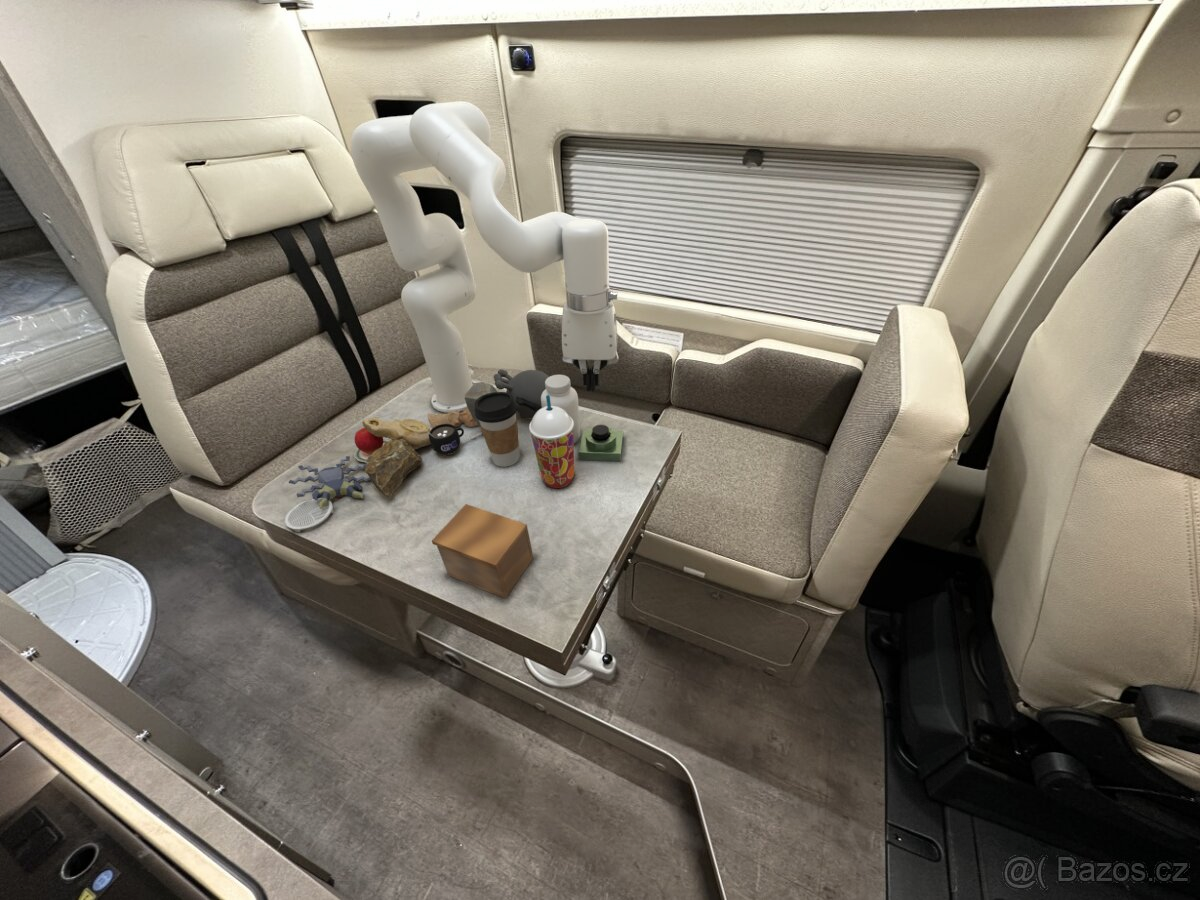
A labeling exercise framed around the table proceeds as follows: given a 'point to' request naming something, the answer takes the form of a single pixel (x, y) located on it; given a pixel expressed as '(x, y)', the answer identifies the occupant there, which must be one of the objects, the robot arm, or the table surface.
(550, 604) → the table surface
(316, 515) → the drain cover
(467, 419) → the figurine
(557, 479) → the smoothie
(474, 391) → the stone
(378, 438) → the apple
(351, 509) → the table surface
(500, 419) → the coffee cup
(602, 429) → the button
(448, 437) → the mug
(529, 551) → the box
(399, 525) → the table surface
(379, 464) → the rock
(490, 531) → the lid
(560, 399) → the pill bottle
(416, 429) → the oil lamp
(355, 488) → the toy
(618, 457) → the button housing
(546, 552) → the table surface
